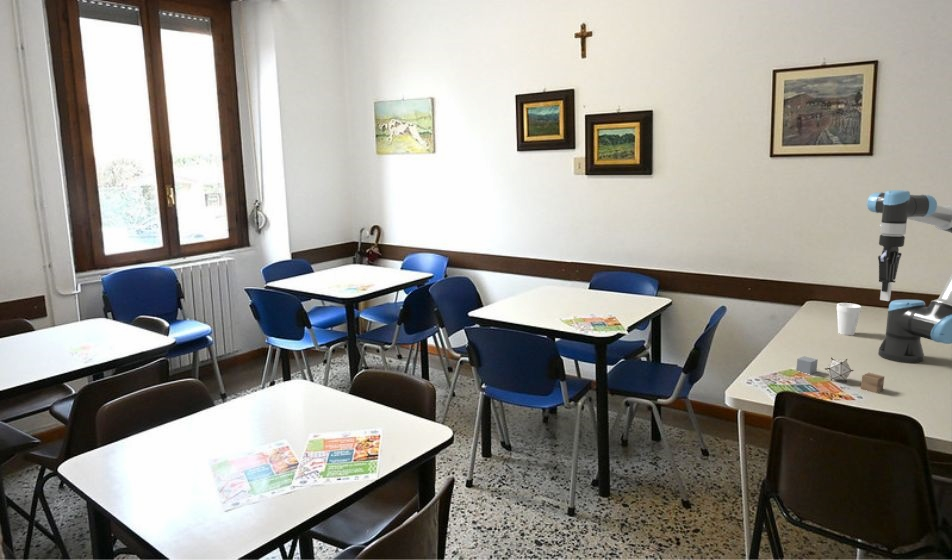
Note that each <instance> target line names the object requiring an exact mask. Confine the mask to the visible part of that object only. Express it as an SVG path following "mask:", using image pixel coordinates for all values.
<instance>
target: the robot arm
mask: <svg viewBox="0 0 952 560" xmlns="http://www.w3.org/2000/svg"><path fill="white" fill-rule="evenodd" d="M866 207H867V209H868V211H870V212H872V213H876V214H882V215H881V223H880V224H879V227H880V232H879V233H880V235H879V239H878V245H879V246H881V247H882V251H881V255H878V256H877V258H878V283H881V286H880V287H881V288H880V294H879V295H880V296H879V300H880V301H886V302H889V301H890V303H889V304H888V310H887V317H886V318H887V320H886V326H885V327H886V328H885V336H884V339H883V340H882V342H881V344H880V346H879V347H878V356H879V357H881V358H884V359H886V360H890V361H894V362H900V363H908V364H909V363H910V364H911V363H921V362H923V361H924V356H925V354H924V350H923V346H922V342H921V341H922V340H921V339H922V338H923V339H926V340H927V339H928V340H930V341H933V342H935V343H942V344H945V345H949V344H952V274H950V277H949V278H948V280H947V282H946V284H945V286H944V287H943V289H942V291H941V293H940V294H939V297H938V298H937V299H934V300H933V299H932V300H931V301H930V303H929V304H928V306H926V305H927V304H926V302H925V301H924V300H920V299H895V300H891V295H892V294H891V293H892V285H893V283H896V277H897V273H898V269H899V264H900V260H901V257H902V252H899V250H900V249H899V248H902V247H904V246H905V241H906V240H905V239H906V236H904V235H906V231H907V221H908V220H911V221H915V222H919V223H921V224H922V223H923V224H927V225H931V226H935V227H936V228H937V229H938V230H940V231H945V232H948V233H951V234H952V205H948V204H947V205H942V206H941V205H939V204H938V202H937V200H936V199H935V197H933V196H932V195H930V194H919V195H918V194H911V192H910V191H909V190H900V189H898V190H897V189H895V190H894V189H893V190H890V189H889V190H886V191H885V192H883V191H881V192H873V193H872V194H870V195H869V196H868V198H867V202H866Z"/></svg>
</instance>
